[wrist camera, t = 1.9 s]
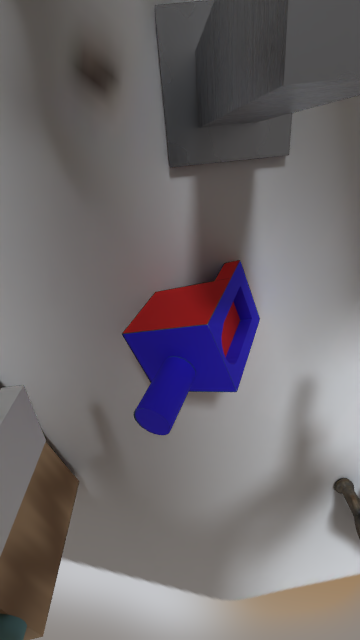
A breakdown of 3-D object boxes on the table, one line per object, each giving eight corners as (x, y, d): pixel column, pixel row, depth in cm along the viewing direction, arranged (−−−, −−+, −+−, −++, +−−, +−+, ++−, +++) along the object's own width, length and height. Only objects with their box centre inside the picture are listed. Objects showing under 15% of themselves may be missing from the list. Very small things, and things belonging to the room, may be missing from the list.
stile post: (155, 10, 11) (146, -498, 2) (295, -4, 11) (788, -548, 2) (169, 166, 14) (192, 199, 5) (285, 154, 14) (518, 165, 5)
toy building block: (168, 275, 18) (84, 380, 12) (240, 259, 15) (180, 379, 10) (192, 326, 19) (128, 440, 13) (260, 318, 17) (218, 451, 11)
